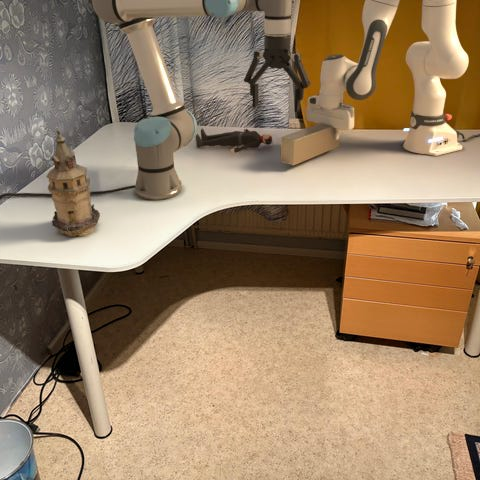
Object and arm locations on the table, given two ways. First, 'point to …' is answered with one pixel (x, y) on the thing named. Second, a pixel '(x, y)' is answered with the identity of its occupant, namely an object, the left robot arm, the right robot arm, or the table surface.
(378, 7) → the right robot arm
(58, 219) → the miniature building
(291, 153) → the box
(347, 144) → the table surface
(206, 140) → the toy
